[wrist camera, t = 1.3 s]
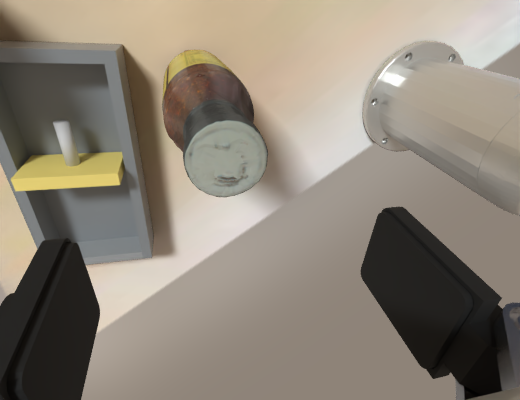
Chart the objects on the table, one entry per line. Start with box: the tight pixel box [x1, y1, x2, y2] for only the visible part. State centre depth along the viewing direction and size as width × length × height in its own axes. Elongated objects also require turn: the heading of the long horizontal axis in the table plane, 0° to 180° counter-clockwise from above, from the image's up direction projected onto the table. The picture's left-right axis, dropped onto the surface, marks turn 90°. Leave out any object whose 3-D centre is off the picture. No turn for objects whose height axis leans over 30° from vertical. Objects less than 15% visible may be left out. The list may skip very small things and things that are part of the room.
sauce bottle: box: [162, 50, 268, 197], centre depth 23 cm, size 7×6×20 cm
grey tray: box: [0, 41, 154, 265], centre depth 31 cm, size 11×22×4 cm, turn 177°
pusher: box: [11, 120, 125, 191], centre depth 28 cm, size 8×5×5 cm, turn 87°
